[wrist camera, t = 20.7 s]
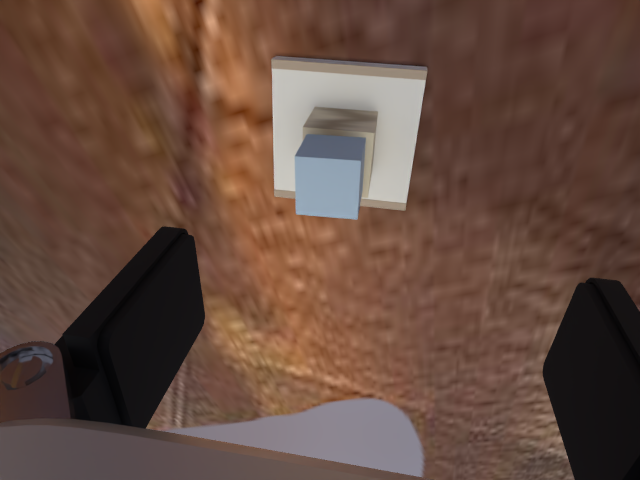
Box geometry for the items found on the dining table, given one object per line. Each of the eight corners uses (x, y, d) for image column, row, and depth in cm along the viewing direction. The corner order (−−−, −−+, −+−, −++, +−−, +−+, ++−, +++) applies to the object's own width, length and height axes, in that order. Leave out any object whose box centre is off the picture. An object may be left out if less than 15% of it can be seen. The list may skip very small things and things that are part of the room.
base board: (426, 66, 41) (427, 70, 40) (405, 203, 48) (405, 210, 47) (275, 55, 42) (271, 59, 41) (277, 189, 50) (274, 196, 49)
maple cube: (378, 111, 42) (374, 132, 37) (372, 170, 45) (367, 197, 40) (314, 106, 43) (302, 127, 38) (313, 165, 46) (302, 191, 41)
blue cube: (365, 137, 38) (361, 160, 33) (362, 191, 40) (357, 219, 36) (306, 133, 38) (294, 156, 34) (307, 187, 41) (296, 214, 37)
